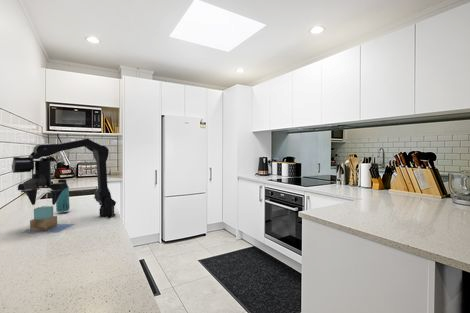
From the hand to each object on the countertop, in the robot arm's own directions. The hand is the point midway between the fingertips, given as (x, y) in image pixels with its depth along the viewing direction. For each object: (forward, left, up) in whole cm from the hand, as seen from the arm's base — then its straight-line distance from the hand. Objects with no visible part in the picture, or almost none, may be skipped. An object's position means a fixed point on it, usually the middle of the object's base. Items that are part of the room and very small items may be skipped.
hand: (43, 204), depth 109 cm
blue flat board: (-2, -1, -12) cm, 12 cm away
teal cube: (0, 0, -6) cm, 6 cm away
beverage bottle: (+12, -30, -12) cm, 34 cm away
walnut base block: (0, 0, -11) cm, 11 cm away
